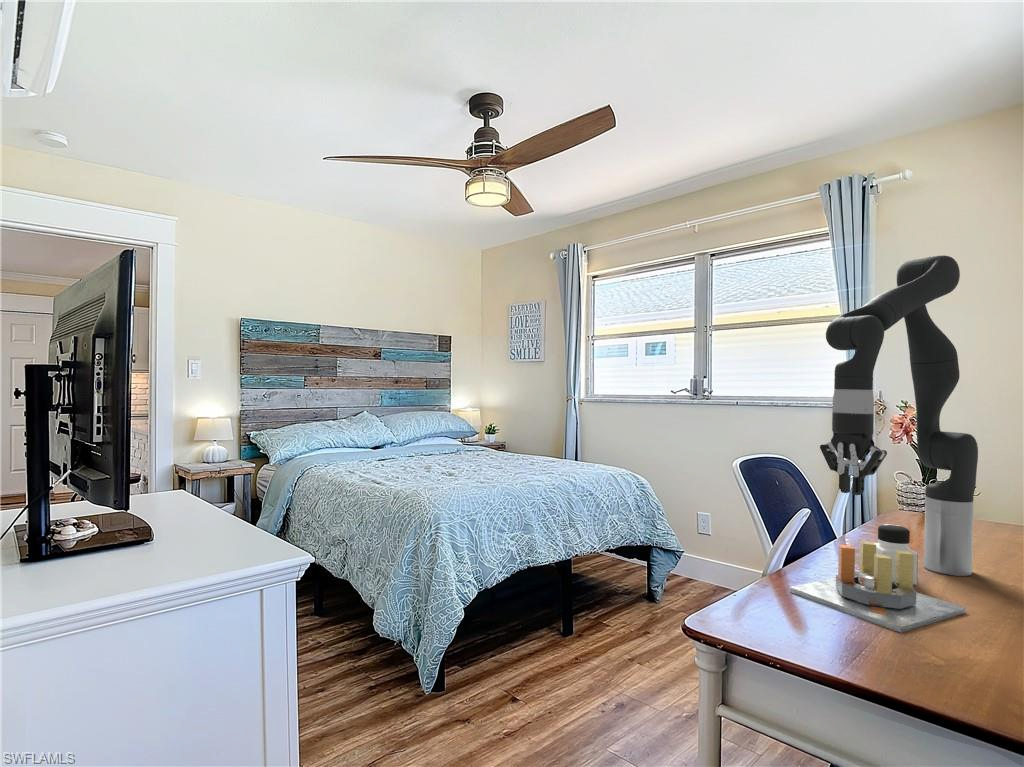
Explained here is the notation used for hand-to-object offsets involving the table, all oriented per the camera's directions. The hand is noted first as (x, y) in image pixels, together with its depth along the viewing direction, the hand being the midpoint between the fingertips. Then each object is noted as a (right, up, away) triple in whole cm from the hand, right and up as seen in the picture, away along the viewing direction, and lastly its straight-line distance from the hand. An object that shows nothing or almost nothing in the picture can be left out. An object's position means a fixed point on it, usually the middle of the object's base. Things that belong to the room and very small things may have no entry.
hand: (851, 493), depth 121 cm
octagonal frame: (+2, -20, -5) cm, 20 cm away
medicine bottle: (+16, -22, +10) cm, 29 cm away
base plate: (+2, -21, -5) cm, 22 cm away
